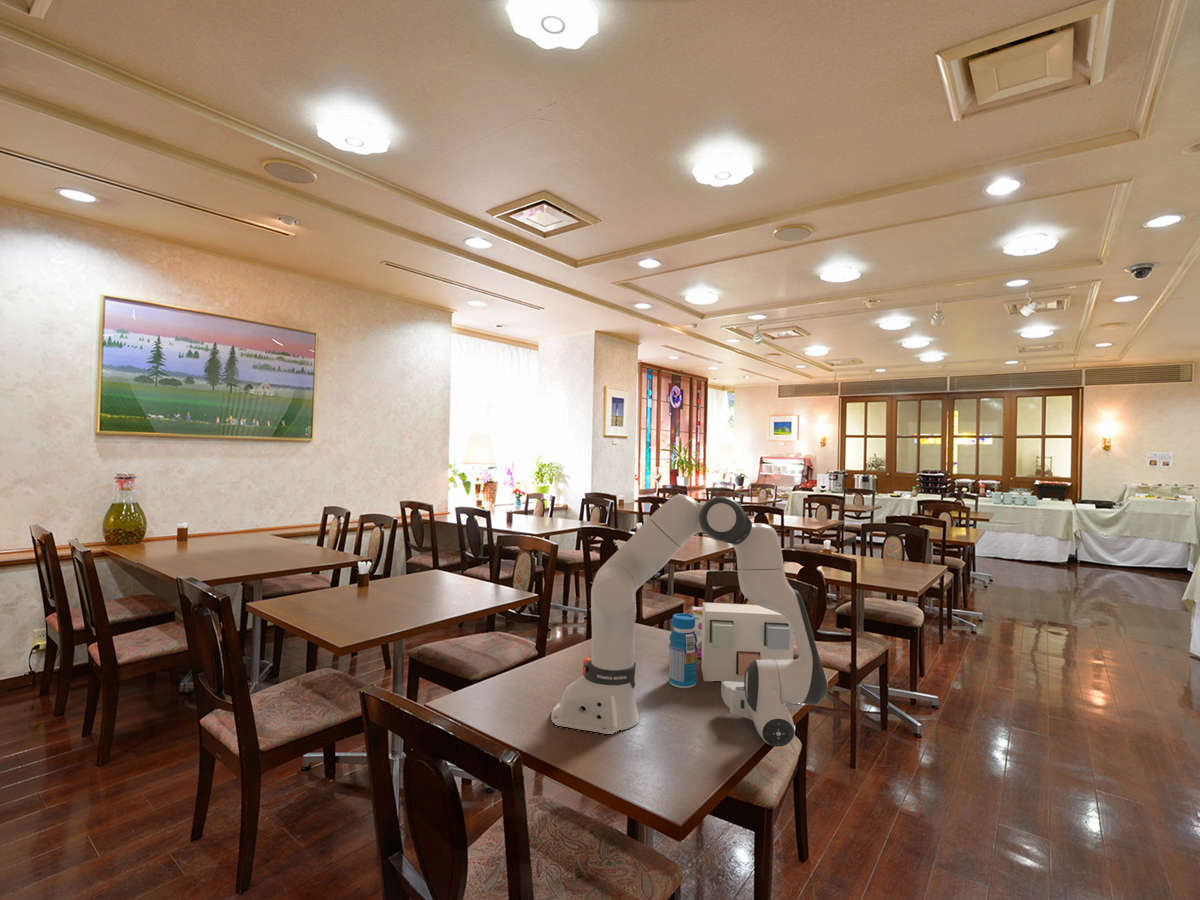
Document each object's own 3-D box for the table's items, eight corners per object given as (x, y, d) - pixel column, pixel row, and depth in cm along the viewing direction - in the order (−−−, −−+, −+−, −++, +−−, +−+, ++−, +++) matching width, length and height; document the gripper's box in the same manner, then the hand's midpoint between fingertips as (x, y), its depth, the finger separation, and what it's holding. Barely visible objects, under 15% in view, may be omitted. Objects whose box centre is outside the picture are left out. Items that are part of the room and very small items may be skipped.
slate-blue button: (768, 648, 170) (768, 628, 170) (764, 642, 176) (764, 622, 176) (789, 649, 169) (789, 629, 169) (784, 643, 175) (785, 623, 175)
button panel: (703, 680, 176) (705, 611, 176) (701, 668, 186) (702, 602, 186) (792, 686, 173) (793, 615, 173) (785, 673, 183) (786, 606, 184)
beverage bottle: (666, 687, 170) (667, 618, 170) (670, 676, 179) (671, 611, 179) (695, 690, 168) (697, 621, 168) (697, 679, 176) (699, 613, 177)
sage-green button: (712, 645, 172) (712, 625, 172) (710, 639, 178) (711, 619, 178) (733, 646, 171) (733, 626, 171) (730, 640, 177) (731, 620, 177)
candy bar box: (690, 659, 194) (691, 609, 195) (689, 654, 199) (690, 606, 200) (724, 661, 193) (725, 611, 193) (722, 655, 198) (723, 607, 198)
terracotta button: (738, 674, 173) (738, 654, 173) (735, 667, 179) (736, 648, 179) (759, 676, 172) (759, 655, 173) (755, 668, 178) (756, 649, 178)
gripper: (808, 693, 145) (795, 673, 159) (725, 688, 147) (719, 668, 161) (808, 719, 145) (795, 696, 159) (724, 713, 147) (718, 691, 161)
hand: (756, 682), depth 160 cm, fingers closed
